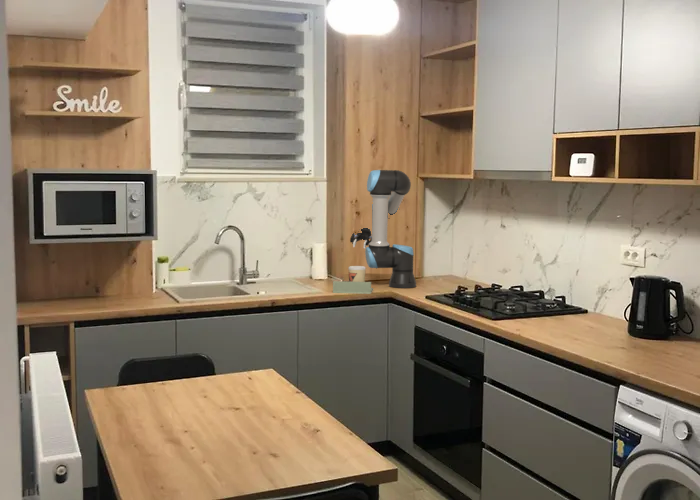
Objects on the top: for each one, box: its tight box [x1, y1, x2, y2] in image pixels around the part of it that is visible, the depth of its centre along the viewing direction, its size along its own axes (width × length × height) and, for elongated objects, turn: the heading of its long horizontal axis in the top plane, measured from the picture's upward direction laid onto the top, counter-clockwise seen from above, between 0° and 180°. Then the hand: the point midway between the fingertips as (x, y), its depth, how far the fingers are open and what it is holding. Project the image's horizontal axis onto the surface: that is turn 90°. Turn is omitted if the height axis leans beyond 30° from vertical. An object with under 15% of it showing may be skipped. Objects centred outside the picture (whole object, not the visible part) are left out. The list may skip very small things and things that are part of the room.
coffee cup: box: [347, 265, 367, 282], centre depth 401 cm, size 9×9×12 cm
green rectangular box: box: [332, 280, 374, 295], centre depth 401 cm, size 20×14×6 cm
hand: (359, 245), depth 418 cm, fingers open, 5 cm apart
